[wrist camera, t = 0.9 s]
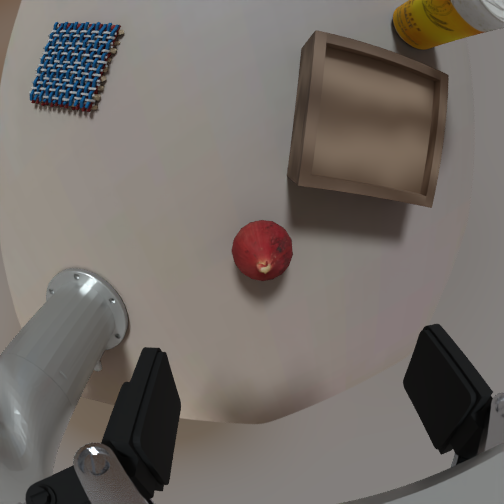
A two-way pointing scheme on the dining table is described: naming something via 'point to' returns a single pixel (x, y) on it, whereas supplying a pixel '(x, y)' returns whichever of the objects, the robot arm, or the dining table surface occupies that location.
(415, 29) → the beer can
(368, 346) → the dining table surface
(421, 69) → the walnut tray
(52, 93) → the woven mat
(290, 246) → the pomegranate
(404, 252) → the dining table surface
